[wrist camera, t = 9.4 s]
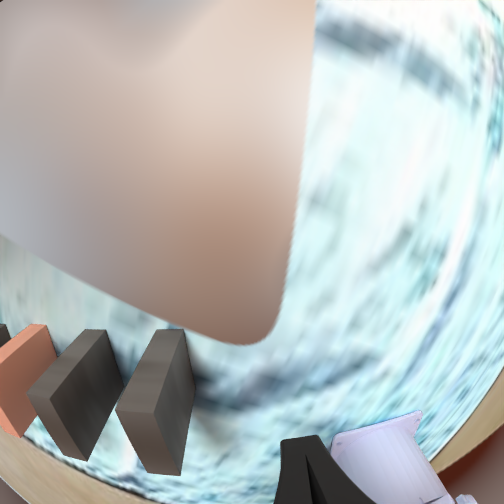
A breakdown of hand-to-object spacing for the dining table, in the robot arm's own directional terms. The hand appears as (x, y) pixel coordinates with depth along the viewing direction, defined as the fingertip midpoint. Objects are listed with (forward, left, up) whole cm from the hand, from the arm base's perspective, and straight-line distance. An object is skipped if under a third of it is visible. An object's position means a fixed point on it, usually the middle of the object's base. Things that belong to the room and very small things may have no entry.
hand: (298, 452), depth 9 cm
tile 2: (0, +11, -8) cm, 13 cm away
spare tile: (0, +16, -8) cm, 18 cm away
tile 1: (0, +6, -8) cm, 10 cm away
